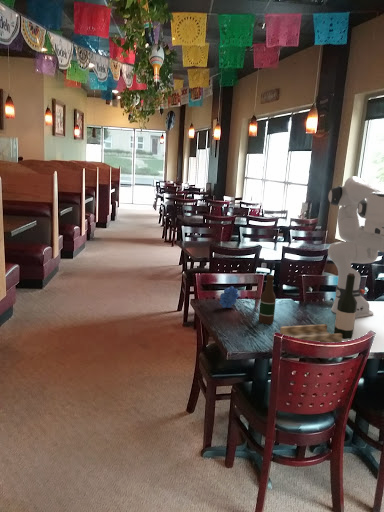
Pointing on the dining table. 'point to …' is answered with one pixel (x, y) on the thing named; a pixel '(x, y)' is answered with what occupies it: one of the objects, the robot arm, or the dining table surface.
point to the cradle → (311, 333)
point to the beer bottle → (267, 303)
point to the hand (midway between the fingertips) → (370, 258)
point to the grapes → (229, 297)
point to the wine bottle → (346, 310)
